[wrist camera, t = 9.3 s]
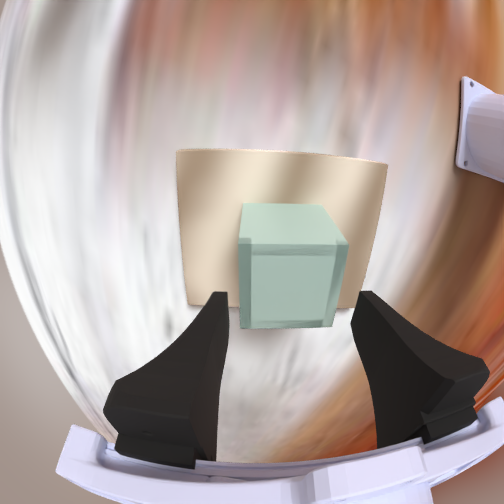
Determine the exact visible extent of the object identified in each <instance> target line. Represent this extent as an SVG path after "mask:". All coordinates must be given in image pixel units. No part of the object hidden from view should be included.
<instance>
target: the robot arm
mask: <svg viewBox="0 0 504 504" xmlns="http://www.w3.org/2000/svg"><path fill="white" fill-rule="evenodd" d="M470 83H471V86H470ZM464 161H465V165H464ZM456 165H457V167H459V168H462V169H465V170H468V171H472V172H475V173H478V174H481V175H484V176H487V177H489V178H492V179H495V180H498V181H500V182H503V183H504V95H500V94H496V93H494V92H492V91H491V90H489V89H488V88H486V87H484V86H483V85H481V84H479V83H477V82H476V81H474V80H472V79H470V78H468V77H462V80H461V115H460V128H459V138H458V147H457V155H456ZM351 328H352V333H353V337H354V341H355V344H356V347H357V350H358V352H359V355H360V358H361V361H362V363H363V366H364V369H365V372H366V375H367V378H368V381H369V385H370V390H371V395H372V400H373V406H374V413H375V421H376V431H377V449H376V450H372V451H367V452H362V453H357V454H352V455H347V456H341V457H334V458H327V459H319V460H310V461H299V462H283V463H230V462H216V451H217V425H218V408H219V394H220V385H221V379H222V374H223V369H224V363H225V358H226V353H227V347H228V338H229V310H228V292H221V291H214V292H213V293H212V294H211V296H210V297H209V299H208V301H207V302H206V304H205V305H204V307H203V308H202V310H201V311H200V312H199V314H198V315H197V316H196V318H195V319H194V320H193V322H192V323H191V324H190V325H189V326H188V327H187V329H186V330H185V331H184V332H183V333H182V334H181V335H180V336H179V337H178V338H177V339H176V340H175V341H174V342H173V343H172V344H171V345H170V346H169V347H168V348H167V349H165V350H164V351H163V352H162V353H161V354H159V355H158V356H157V357H155V358H154V359H153V360H151V361H150V362H148V363H147V364H145V365H144V366H142V367H141V368H139V369H137V370H136V371H134V372H132V373H130V374H128V375H126V376H124V377H122V378H120V379H118V380H116V381H115V383H114V385H113V387H112V388H111V391H110V393H109V395H108V398H107V400H106V403H105V406H104V408H103V413H104V415H105V417H106V418H107V420H108V421H109V422H110V423H111V425H112V426H113V427H114V428H115V429H116V430H117V432H118V433H119V434H118V437H117V440H116V444H114V443H111V442H107V440H106V439H105V438H104V437H103V436H102V435H101V434H99V433H97V432H95V431H92V430H89V429H86V428H83V427H81V426H78V425H75V424H73V425H72V426H71V428H70V432H69V434H68V436H67V439H66V442H65V444H64V447H63V450H62V453H61V456H60V459H59V461H58V464H57V467H56V473H57V474H59V475H60V476H62V477H64V478H65V479H67V480H69V481H71V482H72V483H74V484H76V485H78V486H80V487H81V488H83V489H85V490H87V491H90V492H92V493H95V494H97V495H100V496H103V497H105V498H108V499H111V500H114V501H117V502H120V503H123V504H433V499H432V495H431V491H430V488H431V487H433V486H435V485H438V484H440V483H442V482H444V481H446V480H448V479H450V478H451V477H453V476H455V475H457V474H459V473H461V472H462V471H464V470H466V469H468V468H469V467H471V466H473V465H474V464H476V463H478V462H480V461H481V460H483V459H484V458H486V457H487V456H489V455H490V454H492V453H493V452H494V451H495V450H497V449H498V448H499V447H501V446H502V445H503V444H504V401H503V400H502V398H501V397H498V398H496V399H494V400H492V401H490V402H488V403H487V404H486V405H484V406H483V407H482V408H481V409H480V410H479V411H478V413H477V414H476V412H475V410H474V408H473V406H474V405H475V403H476V402H475V400H474V398H473V397H474V396H475V395H476V394H477V393H478V391H479V390H480V389H481V388H482V387H483V385H484V384H485V383H486V381H487V380H488V378H489V374H490V371H489V369H488V368H487V366H486V364H485V362H484V361H483V359H481V358H478V357H475V356H472V355H469V354H466V353H463V352H460V351H458V350H456V349H453V348H451V347H449V346H447V345H445V344H443V343H441V342H439V341H437V340H435V339H434V338H432V337H430V336H429V335H427V334H426V333H424V332H423V331H421V330H420V329H418V328H417V327H415V326H414V325H413V324H411V323H410V322H409V321H407V320H406V319H405V318H404V317H402V316H401V315H400V314H399V313H397V312H396V311H395V310H394V309H393V308H391V307H390V306H389V305H388V304H387V303H386V302H384V301H383V300H382V299H381V298H380V297H378V296H377V295H376V294H375V293H373V292H372V291H359V295H358V299H357V302H356V306H355V310H354V313H353V316H352V320H351Z"/></svg>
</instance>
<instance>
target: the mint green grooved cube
mask: <svg viewBox="0 0 504 504" xmlns="http://www.w3.org/2000/svg"><path fill="white" fill-rule="evenodd" d="M348 250H349V244H348V242H347V241H346V239H345V238H344V236H343V235H342V233H341V232H340V230H339V229H338V227H337V226H336V224H335V223H334V221H333V220H332V219H331V217H330V216H329V214H328V213H327V211H326V210H325V209H324V207H323V206H322V205H315V204H280V203H243V208H242V216H241V224H240V232H239V240H238V264H239V304H240V328H246V329H282V328H318V327H332V324H333V320H334V316H335V312H336V308H337V304H338V299H339V295H340V290H341V286H342V281H343V276H344V271H345V266H346V261H347V255H348Z"/></svg>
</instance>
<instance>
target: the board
mask: <svg viewBox="0 0 504 504" xmlns="http://www.w3.org/2000/svg"><path fill="white" fill-rule="evenodd" d="M176 166H177V190H178V207H179V222H180V235H181V247H182V257H183V267H184V277H185V285H186V294H187V302H188V304H189V305H205V304H206V302H207V301H208V299H209V297H210V296H211V294H212V293H213V292H214V291H221V292H228V307H240V304H239V264H238V240H239V232H240V224H241V216H242V208H243V203H280V204H315V205H322V206H323V207H324V209H325V210H326V211H327V213H328V214H329V216H330V217H331V219H332V220H333V221H334V223H335V224H336V226H337V227H338V229H339V230H340V232H341V233H342V235H343V236H344V238H345V239H346V241H347V242H348V244H349V250H348V255H347V261H346V266H345V271H344V276H343V281H342V286H341V290H340V295H339V299H338V304H337V308H355V306H356V302H357V299H358V295H359V291H361V289H362V285H363V282H364V278H365V274H366V271H367V267H368V263H369V259H370V255H371V251H372V247H373V243H374V238H375V234H376V229H377V225H378V220H379V215H380V210H381V205H382V199H383V194H384V188H385V182H386V176H387V169H388V165H387V164H385V163H382V162H377V161H370V160H364V159H357V158H350V157H342V156H333V155H324V154H314V153H303V152H291V151H275V150H253V149H183V150H178V151H176Z"/></svg>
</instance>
